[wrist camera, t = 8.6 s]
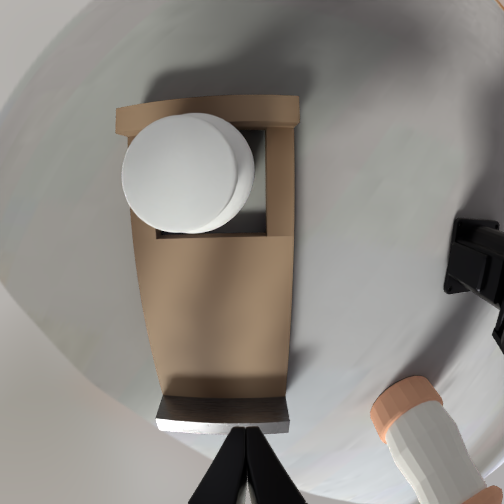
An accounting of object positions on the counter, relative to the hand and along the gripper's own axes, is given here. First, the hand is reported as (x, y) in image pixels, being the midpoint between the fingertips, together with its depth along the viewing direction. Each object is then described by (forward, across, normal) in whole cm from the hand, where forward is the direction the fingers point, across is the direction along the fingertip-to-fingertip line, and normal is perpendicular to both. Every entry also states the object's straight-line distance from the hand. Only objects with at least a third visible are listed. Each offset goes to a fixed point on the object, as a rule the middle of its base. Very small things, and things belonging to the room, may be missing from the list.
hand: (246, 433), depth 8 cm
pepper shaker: (+12, -16, +14) cm, 25 cm away
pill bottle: (+12, +2, -8) cm, 15 cm away
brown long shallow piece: (+12, +2, -1) cm, 12 cm away
